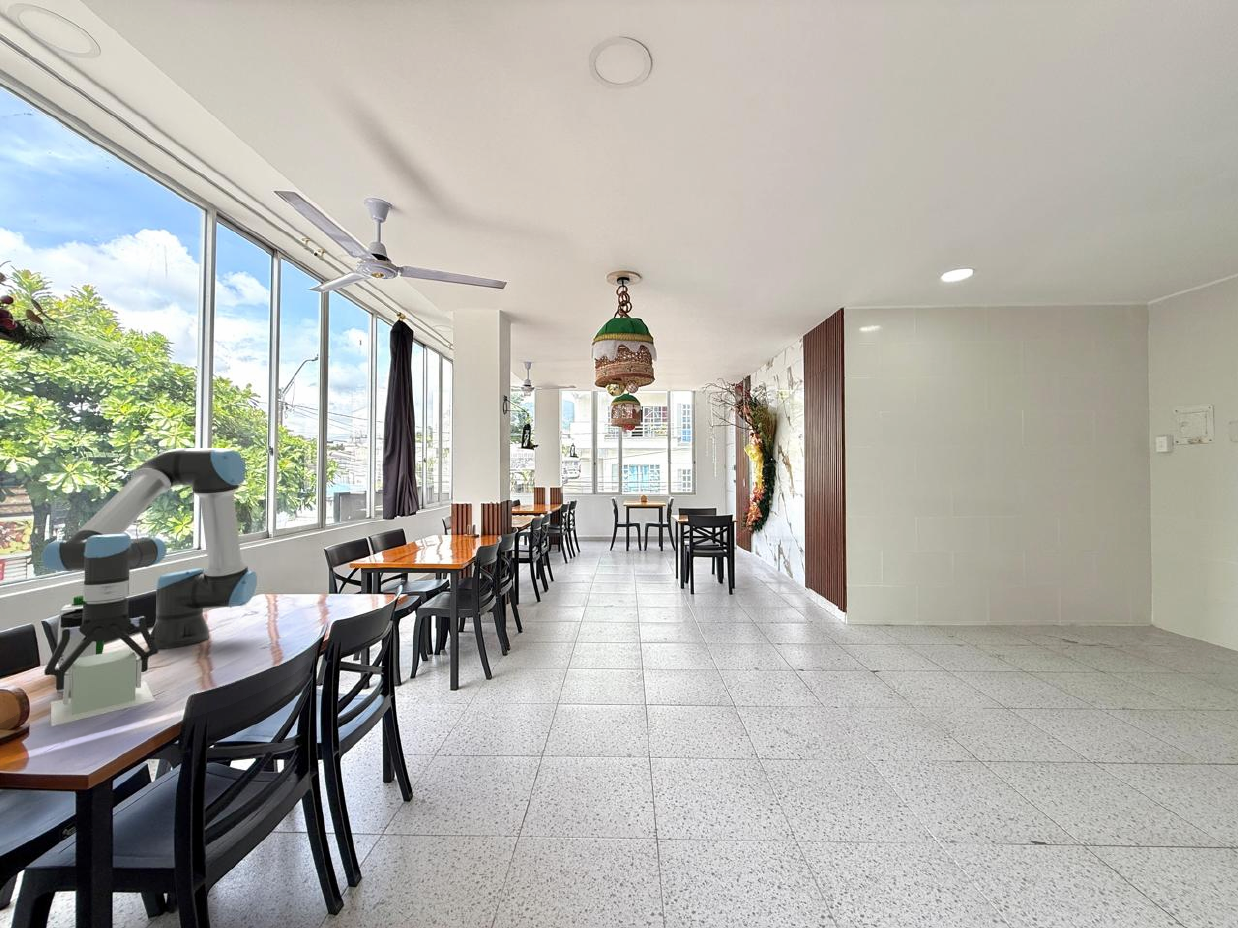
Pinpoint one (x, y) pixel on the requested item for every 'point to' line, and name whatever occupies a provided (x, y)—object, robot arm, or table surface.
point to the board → (64, 712)
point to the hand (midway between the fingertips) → (103, 694)
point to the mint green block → (103, 680)
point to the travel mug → (74, 639)
